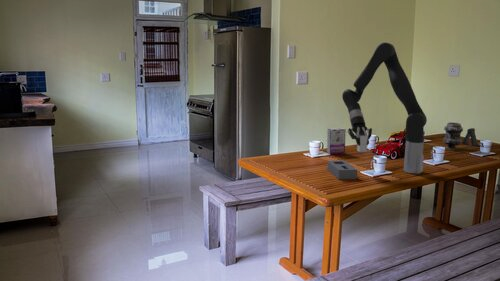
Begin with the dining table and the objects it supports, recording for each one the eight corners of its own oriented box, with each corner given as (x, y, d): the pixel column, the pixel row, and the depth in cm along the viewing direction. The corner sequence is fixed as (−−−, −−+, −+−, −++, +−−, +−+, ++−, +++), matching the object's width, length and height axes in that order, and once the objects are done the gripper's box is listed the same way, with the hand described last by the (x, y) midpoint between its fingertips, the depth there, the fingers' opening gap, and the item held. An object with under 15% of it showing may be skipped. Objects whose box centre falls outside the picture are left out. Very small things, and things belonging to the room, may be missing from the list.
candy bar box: (341, 151, 283) (342, 127, 280) (345, 153, 279) (346, 129, 275) (326, 152, 280) (327, 128, 277) (329, 154, 276) (330, 129, 272)
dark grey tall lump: (460, 151, 285) (463, 125, 282) (441, 149, 291) (443, 123, 287) (461, 148, 295) (464, 122, 292) (443, 146, 301) (445, 121, 298)
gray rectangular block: (363, 150, 232) (364, 134, 231) (366, 151, 228) (367, 135, 227) (356, 150, 232) (357, 134, 230) (359, 152, 228) (360, 135, 226)
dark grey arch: (461, 144, 308) (463, 128, 306) (465, 143, 312) (466, 127, 309) (474, 146, 301) (476, 129, 299) (477, 145, 305) (479, 128, 303)
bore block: (344, 168, 240) (344, 160, 239) (356, 178, 221) (357, 169, 220) (327, 169, 239) (327, 160, 238) (338, 179, 219) (338, 170, 219)
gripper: (346, 115, 233) (352, 141, 224) (371, 115, 234) (378, 140, 225) (342, 123, 239) (348, 148, 230) (366, 123, 241) (373, 148, 231)
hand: (363, 144), depth 227 cm, fingers closed on gray rectangular block, 4 cm apart
